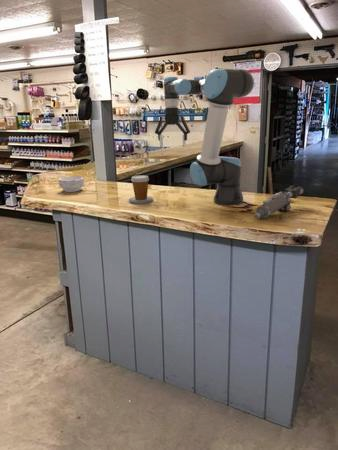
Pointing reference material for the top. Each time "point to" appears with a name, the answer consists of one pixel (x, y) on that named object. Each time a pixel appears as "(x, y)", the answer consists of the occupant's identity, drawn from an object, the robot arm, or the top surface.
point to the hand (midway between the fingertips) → (172, 146)
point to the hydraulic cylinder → (278, 202)
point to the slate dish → (134, 201)
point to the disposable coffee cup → (140, 186)
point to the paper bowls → (71, 183)
